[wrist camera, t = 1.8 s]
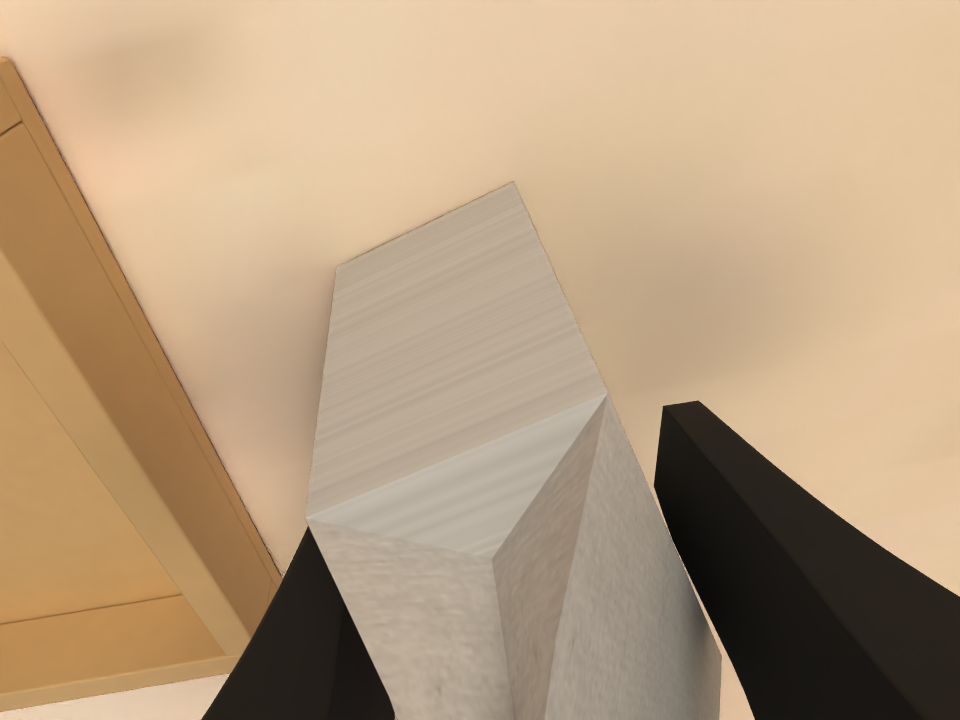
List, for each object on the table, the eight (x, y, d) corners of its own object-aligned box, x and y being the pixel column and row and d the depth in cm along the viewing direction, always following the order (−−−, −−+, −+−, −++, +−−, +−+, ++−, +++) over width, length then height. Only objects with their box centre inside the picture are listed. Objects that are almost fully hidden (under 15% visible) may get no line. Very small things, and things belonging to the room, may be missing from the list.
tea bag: (513, 181, 11) (835, 898, 3) (616, 419, 15) (873, 998, 7) (336, 267, 12) (237, 1051, 4) (481, 474, 16) (580, 1064, 8)
